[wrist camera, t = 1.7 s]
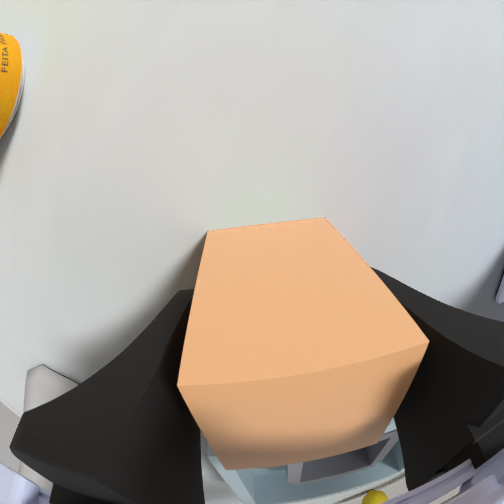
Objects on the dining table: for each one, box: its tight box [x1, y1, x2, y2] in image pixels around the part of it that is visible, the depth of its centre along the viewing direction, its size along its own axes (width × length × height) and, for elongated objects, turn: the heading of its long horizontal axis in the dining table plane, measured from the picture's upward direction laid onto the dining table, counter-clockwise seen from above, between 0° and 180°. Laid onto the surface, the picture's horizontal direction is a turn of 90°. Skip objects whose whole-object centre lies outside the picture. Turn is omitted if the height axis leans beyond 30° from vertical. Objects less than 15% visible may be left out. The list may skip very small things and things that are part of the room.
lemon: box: [362, 489, 388, 504], centre depth 32 cm, size 6×6×8 cm
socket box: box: [207, 418, 405, 504], centre depth 16 cm, size 16×16×4 cm
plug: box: [177, 217, 429, 470], centre depth 8 cm, size 4×4×7 cm
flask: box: [18, 365, 78, 492], centre depth 11 cm, size 7×7×10 cm
